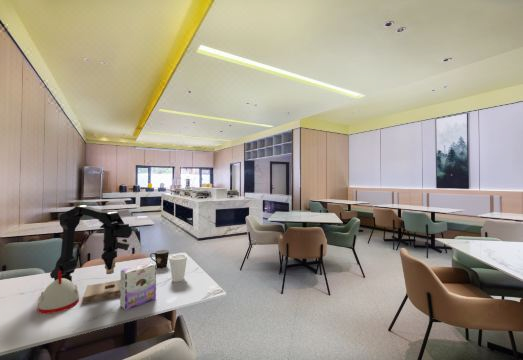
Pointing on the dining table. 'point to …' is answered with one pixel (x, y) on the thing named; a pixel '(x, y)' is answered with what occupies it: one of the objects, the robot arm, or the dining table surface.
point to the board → (102, 291)
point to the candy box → (137, 285)
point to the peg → (111, 268)
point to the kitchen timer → (58, 296)
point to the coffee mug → (161, 258)
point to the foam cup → (178, 267)
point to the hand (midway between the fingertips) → (110, 267)
